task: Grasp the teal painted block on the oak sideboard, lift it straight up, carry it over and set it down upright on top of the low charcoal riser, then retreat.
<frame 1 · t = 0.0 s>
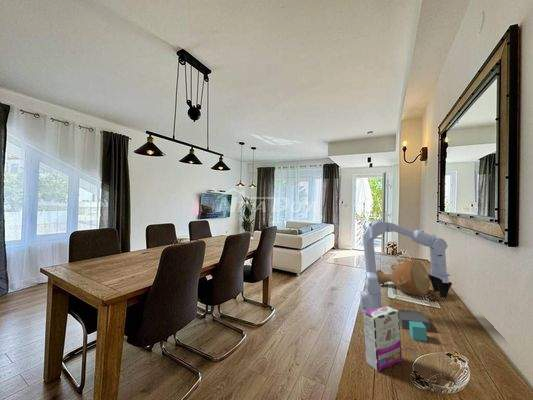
hand: (440, 294, 104), 10 cm above the table, fingers open, 7 cm apart
jug: (403, 291, 137), on the table
candy bar box: (383, 363, 75), on the table
teal block: (418, 337, 89), on the table
charcoal riser: (412, 323, 99), on the table
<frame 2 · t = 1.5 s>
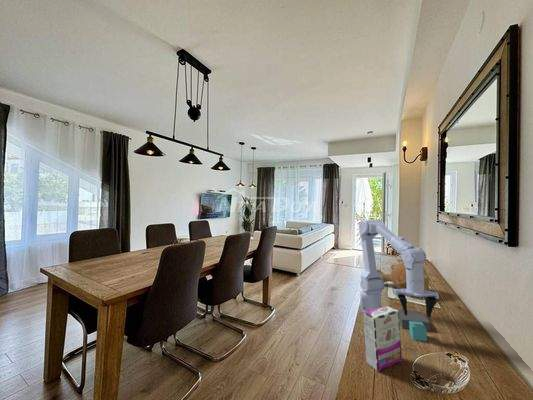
hand: (416, 315, 89), 8 cm above the table, fingers open, 7 cm apart
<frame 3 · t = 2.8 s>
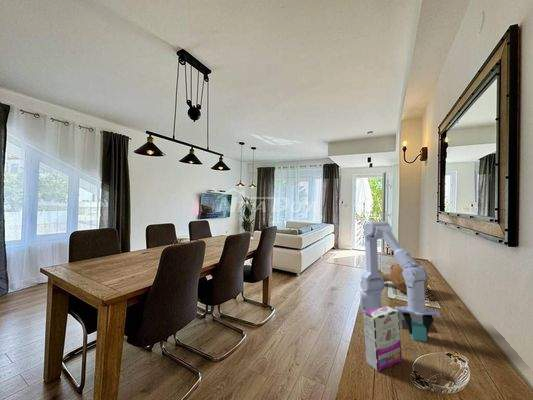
hand: (417, 333, 89), 1 cm above the table, fingers closed on teal block, 4 cm apart
teal block: (418, 337, 89), on the table, touching gripper
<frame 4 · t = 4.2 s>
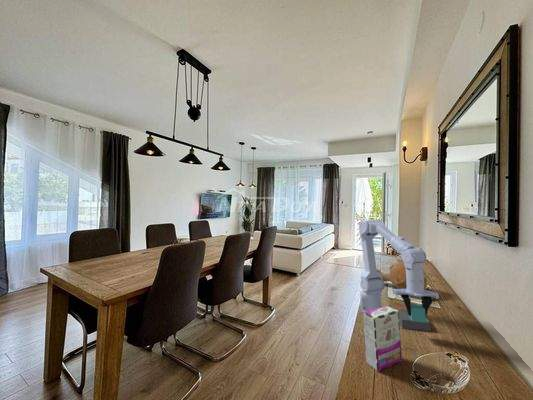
hand: (416, 315, 89), 8 cm above the table, fingers closed on teal block, 4 cm apart
teal block: (417, 319, 89), point 7 cm above the table, touching gripper
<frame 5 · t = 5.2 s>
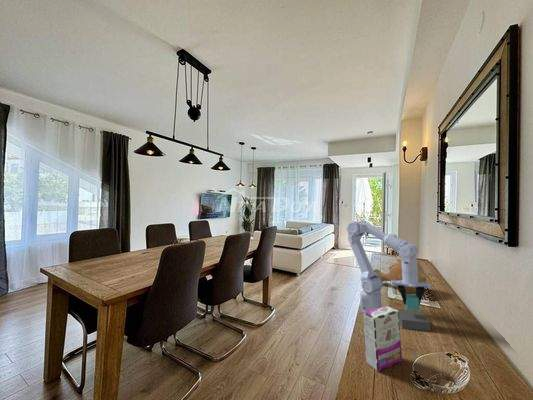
hand: (411, 304, 99), 8 cm above the table, fingers closed on teal block, 4 cm apart
teal block: (411, 307, 99), point 7 cm above the table, touching gripper
when the fingers open (6 cm above the table, at t = 6.1 s): teal block stays where it is, resting on charcoal riser.
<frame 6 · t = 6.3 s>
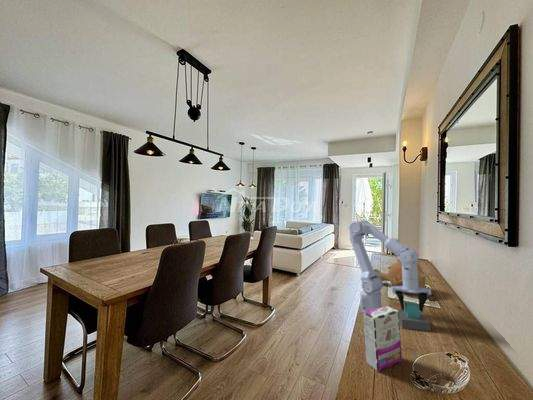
hand: (411, 309, 99), 6 cm above the table, fingers open, 6 cm apart
teal block: (412, 315, 99), point 3 cm above the table, touching charcoal riser
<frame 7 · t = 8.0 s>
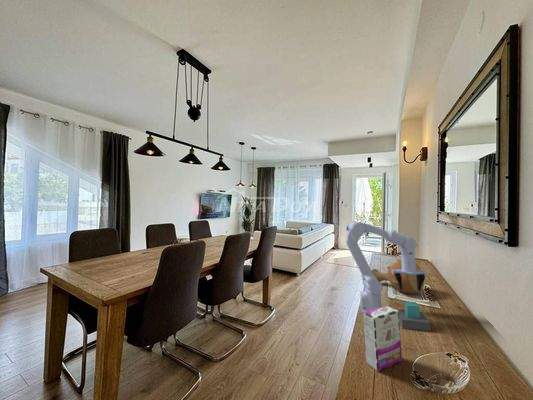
hand: (409, 289, 112), 10 cm above the table, fingers open, 7 cm apart
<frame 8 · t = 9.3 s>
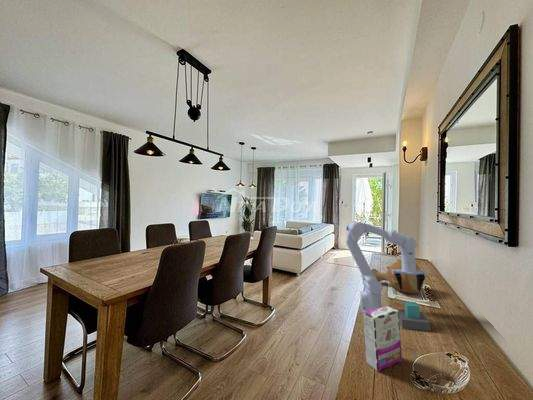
hand: (409, 289, 112), 10 cm above the table, fingers open, 7 cm apart
at the end: teal block inside the target area on the charcoal riser (0.1 cm from its centre), point 3.5 cm above the charcoal riser's base; teal block tilted 0°; the gripper is holding nothing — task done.
